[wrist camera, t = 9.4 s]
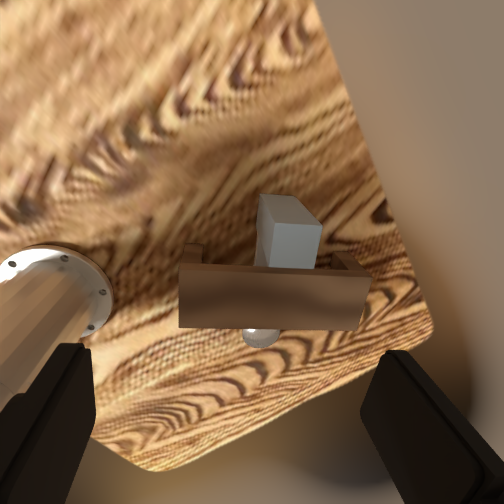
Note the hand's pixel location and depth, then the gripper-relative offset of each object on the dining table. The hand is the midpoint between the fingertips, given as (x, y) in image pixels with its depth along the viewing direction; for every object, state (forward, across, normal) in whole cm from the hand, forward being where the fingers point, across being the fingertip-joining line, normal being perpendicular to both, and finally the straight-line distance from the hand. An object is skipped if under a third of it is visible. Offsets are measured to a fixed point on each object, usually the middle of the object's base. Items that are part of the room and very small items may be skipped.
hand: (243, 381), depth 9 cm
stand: (+25, -7, +9) cm, 28 cm away
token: (+26, -7, +17) cm, 32 cm away
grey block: (+25, -7, +7) cm, 27 cm away
